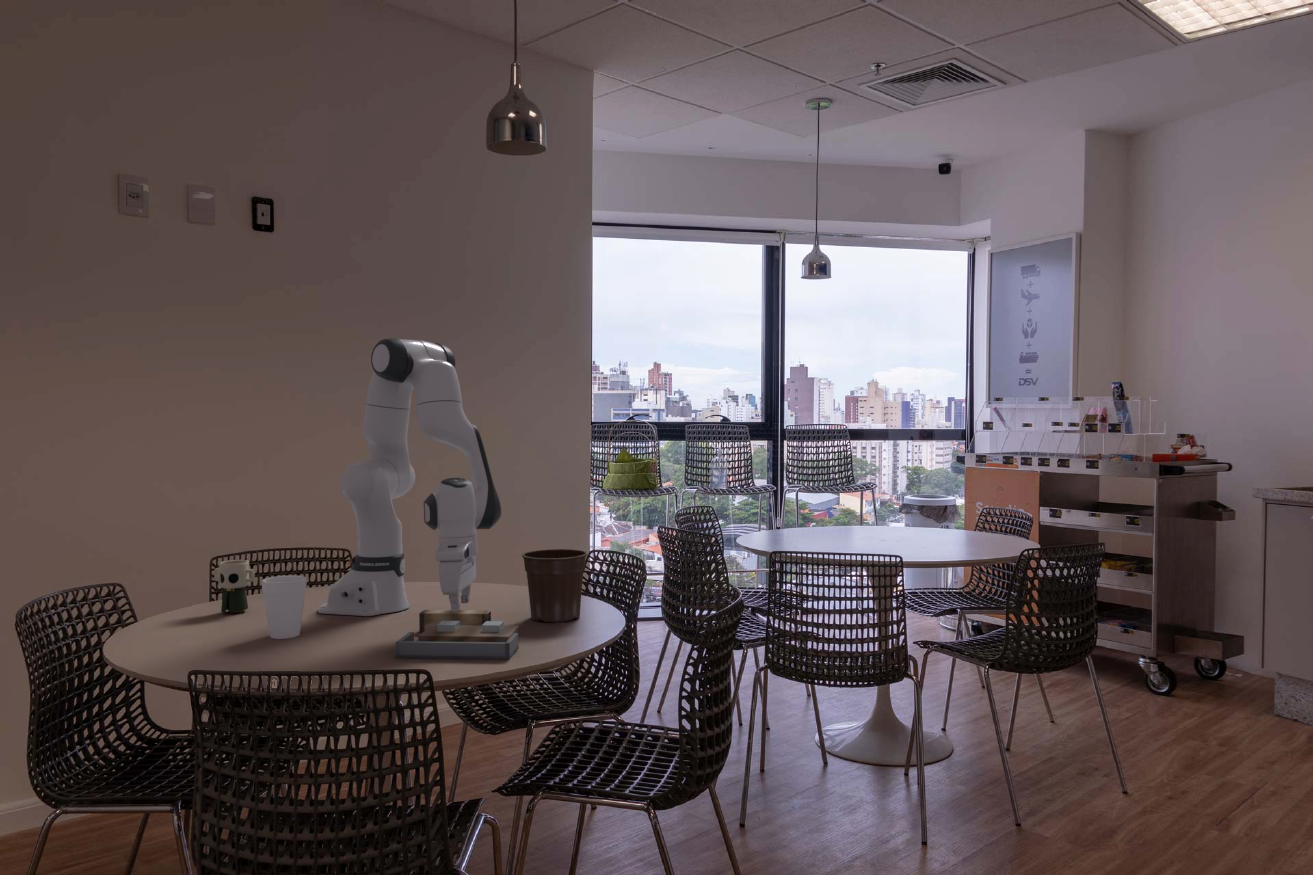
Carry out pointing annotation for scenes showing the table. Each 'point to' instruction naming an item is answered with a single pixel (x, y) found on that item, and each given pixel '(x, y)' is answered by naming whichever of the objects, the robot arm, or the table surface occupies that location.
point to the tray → (455, 649)
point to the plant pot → (555, 583)
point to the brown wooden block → (452, 617)
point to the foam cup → (284, 605)
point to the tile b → (492, 626)
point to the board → (468, 634)
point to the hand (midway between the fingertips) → (460, 606)
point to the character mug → (234, 584)
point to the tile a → (448, 626)
